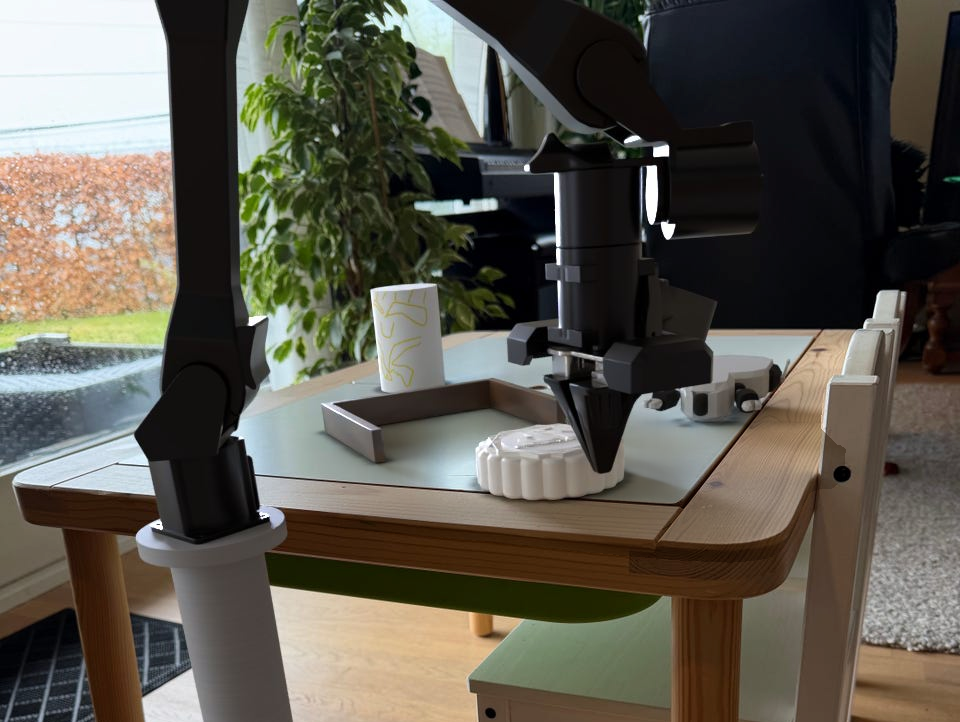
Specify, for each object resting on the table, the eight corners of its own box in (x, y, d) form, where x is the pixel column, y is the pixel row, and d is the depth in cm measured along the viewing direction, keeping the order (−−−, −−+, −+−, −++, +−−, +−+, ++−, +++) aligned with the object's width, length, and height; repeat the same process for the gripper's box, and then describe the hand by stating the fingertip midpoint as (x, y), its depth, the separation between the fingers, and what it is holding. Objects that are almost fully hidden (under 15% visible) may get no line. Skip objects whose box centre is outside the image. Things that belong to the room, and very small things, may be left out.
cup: (370, 393, 123) (358, 292, 118) (399, 380, 130) (389, 284, 125) (429, 393, 120) (419, 289, 115) (455, 380, 127) (447, 282, 122)
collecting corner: (566, 429, 97) (565, 398, 96) (375, 463, 90) (371, 430, 89) (495, 404, 111) (493, 377, 109) (324, 432, 104) (320, 403, 102)
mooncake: (589, 454, 87) (588, 414, 86) (650, 486, 77) (650, 441, 75) (460, 473, 84) (456, 432, 83) (505, 510, 74) (502, 463, 72)
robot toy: (764, 438, 91) (790, 394, 103) (765, 390, 89) (792, 350, 101) (636, 434, 96) (674, 392, 108) (635, 388, 94) (674, 351, 106)
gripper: (788, 236, 61) (773, 481, 67) (627, 234, 77) (627, 433, 83) (635, 252, 57) (635, 510, 63) (498, 247, 73) (509, 454, 79)
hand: (602, 472), depth 72 cm, fingers closed
